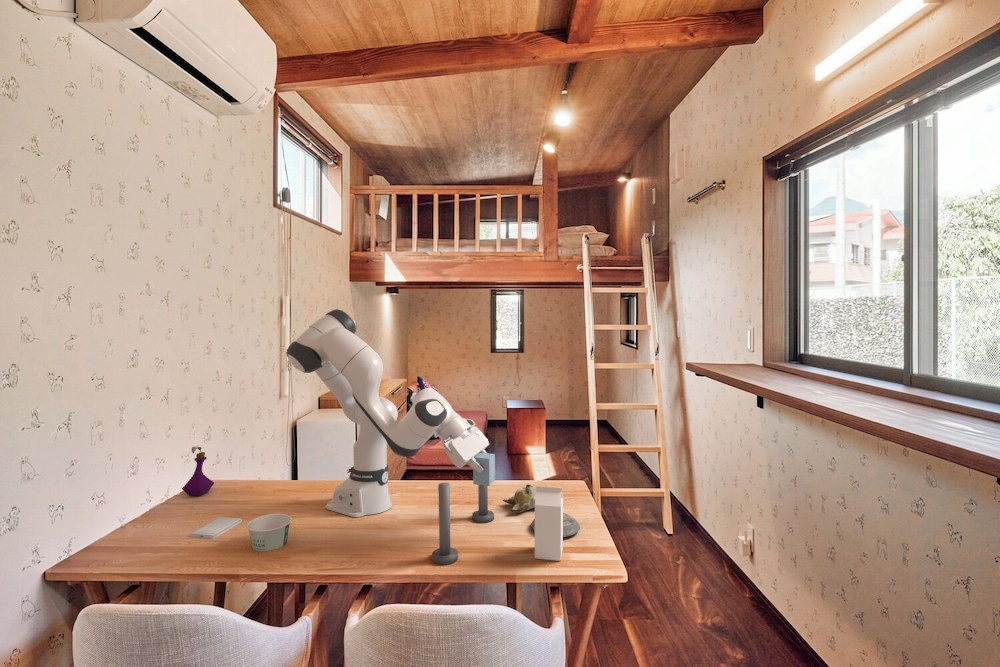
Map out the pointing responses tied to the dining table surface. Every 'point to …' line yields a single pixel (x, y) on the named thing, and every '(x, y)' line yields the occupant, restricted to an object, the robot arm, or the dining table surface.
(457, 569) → the dining table surface
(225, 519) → the hard drive
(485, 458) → the slate block
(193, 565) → the dining table surface
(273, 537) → the food container
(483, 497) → the far post
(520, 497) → the ceramic sculpture
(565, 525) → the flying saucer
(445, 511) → the near post
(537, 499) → the milk carton
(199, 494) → the perfume bottle
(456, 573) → the dining table surface
